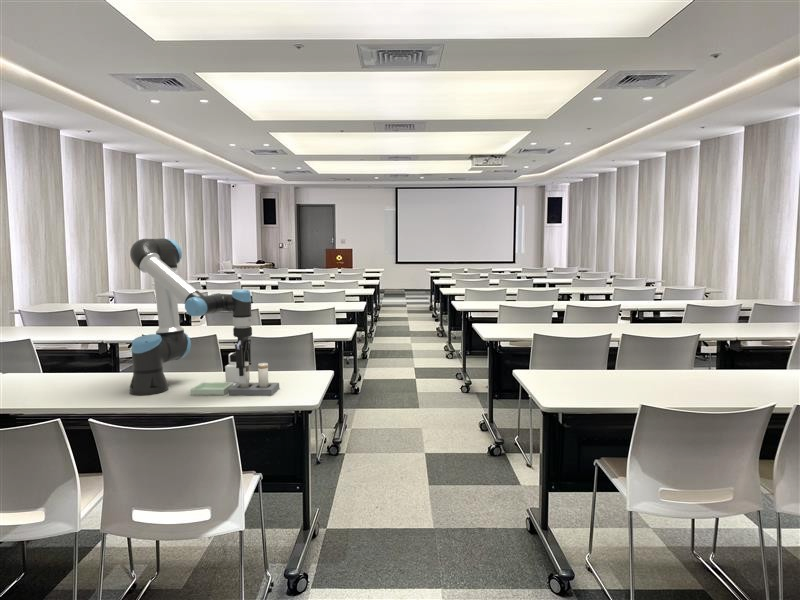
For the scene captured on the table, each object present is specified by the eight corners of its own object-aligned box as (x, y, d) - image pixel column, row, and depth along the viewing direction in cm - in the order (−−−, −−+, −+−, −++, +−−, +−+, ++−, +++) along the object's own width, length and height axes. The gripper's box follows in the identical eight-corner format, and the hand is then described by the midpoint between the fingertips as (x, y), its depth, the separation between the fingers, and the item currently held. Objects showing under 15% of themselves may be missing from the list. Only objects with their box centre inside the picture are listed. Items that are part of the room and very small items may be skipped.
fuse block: (228, 395, 239) (228, 389, 239) (238, 388, 251) (238, 382, 251) (271, 395, 238) (271, 389, 238) (279, 388, 250) (279, 382, 250)
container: (248, 379, 268) (247, 351, 266) (242, 383, 260) (241, 354, 259) (232, 378, 268) (231, 351, 267) (225, 382, 261) (224, 354, 259)
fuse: (257, 393, 242) (256, 364, 241) (260, 390, 246) (259, 362, 245) (267, 393, 242) (266, 364, 241) (270, 390, 246) (269, 362, 245)
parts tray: (190, 395, 240) (190, 389, 240) (202, 388, 252) (201, 382, 252) (223, 395, 239) (223, 389, 239) (233, 388, 251) (233, 382, 251)
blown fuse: (238, 391, 243) (237, 363, 241) (241, 388, 247) (240, 361, 246) (247, 391, 242) (247, 363, 241) (251, 389, 247) (250, 361, 245)
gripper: (244, 330, 233) (246, 387, 235) (257, 323, 250) (259, 377, 253) (226, 329, 233) (228, 386, 236) (240, 323, 251) (242, 376, 253)
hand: (244, 381), depth 244 cm, fingers closed on blown fuse, 4 cm apart
